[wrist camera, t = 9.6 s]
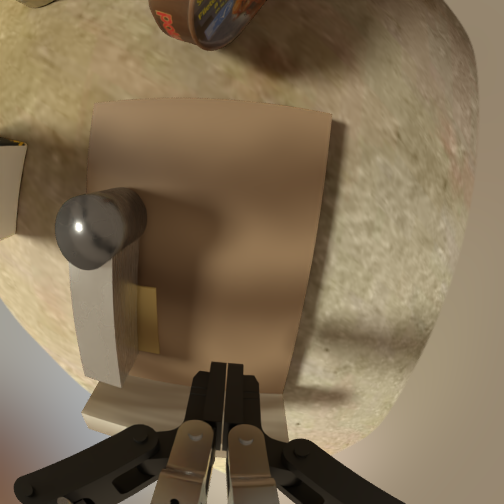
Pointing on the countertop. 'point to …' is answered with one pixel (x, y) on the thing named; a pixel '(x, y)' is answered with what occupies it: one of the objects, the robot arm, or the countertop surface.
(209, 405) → the robot arm
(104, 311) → the swing bar
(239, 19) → the tin
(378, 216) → the countertop surface
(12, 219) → the medicine bottle
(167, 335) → the board
